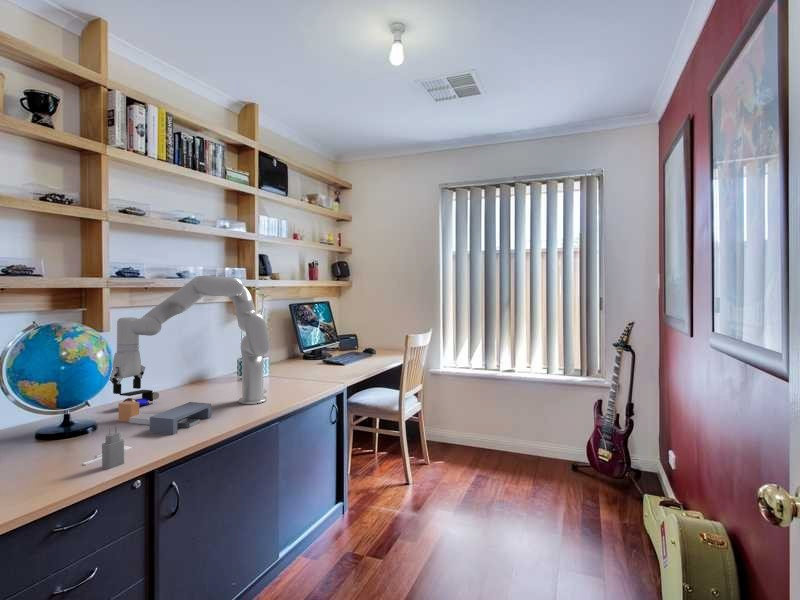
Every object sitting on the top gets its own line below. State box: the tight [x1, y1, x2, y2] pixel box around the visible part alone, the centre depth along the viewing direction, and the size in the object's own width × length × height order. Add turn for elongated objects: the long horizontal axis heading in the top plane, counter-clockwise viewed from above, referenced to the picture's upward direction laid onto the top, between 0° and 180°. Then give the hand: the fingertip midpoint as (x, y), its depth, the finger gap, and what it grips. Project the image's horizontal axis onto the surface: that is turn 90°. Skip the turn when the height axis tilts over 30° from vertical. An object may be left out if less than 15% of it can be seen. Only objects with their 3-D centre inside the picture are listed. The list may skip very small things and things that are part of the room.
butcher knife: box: [81, 445, 133, 466], centre depth 142 cm, size 5×15×1 cm, turn 158°
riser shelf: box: [149, 401, 212, 435], centre depth 174 cm, size 22×10×6 cm, turn 168°
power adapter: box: [101, 424, 125, 470], centre depth 134 cm, size 3×5×12 cm, turn 156°
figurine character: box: [119, 389, 160, 407], centre depth 199 cm, size 7×8×15 cm
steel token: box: [177, 417, 201, 429], centre depth 173 cm, size 6×6×2 cm
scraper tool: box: [118, 401, 155, 426], centre depth 177 cm, size 6×23×7 cm, turn 78°
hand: (127, 391), depth 178 cm, fingers open, 9 cm apart
